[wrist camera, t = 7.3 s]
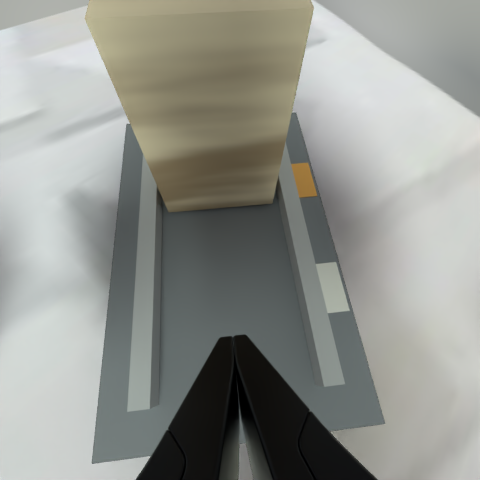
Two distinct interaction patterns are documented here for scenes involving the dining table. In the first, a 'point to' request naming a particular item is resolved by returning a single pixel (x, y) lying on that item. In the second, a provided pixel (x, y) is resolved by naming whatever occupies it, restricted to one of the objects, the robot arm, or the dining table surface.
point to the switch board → (224, 304)
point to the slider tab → (206, 90)
